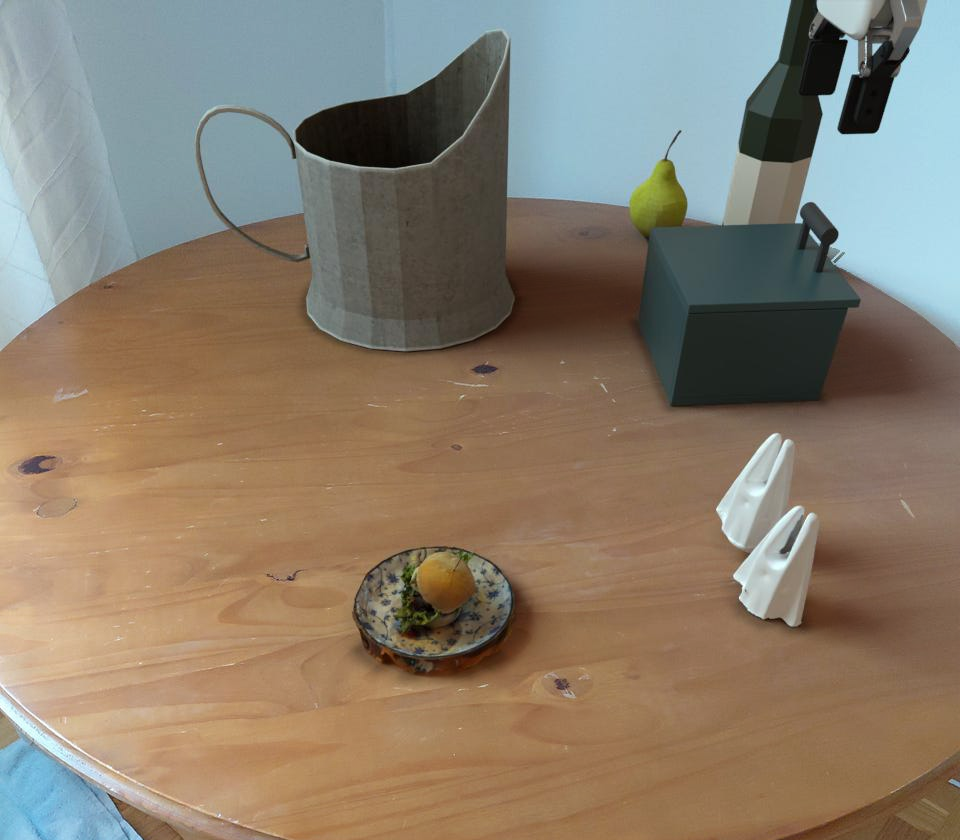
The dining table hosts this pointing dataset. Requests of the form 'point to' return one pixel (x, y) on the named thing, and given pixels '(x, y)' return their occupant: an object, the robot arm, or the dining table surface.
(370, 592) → the burger
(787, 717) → the dining table surface
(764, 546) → the shaker set
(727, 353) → the chest
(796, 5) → the wine bottle
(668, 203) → the fruit
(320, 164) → the pitcher
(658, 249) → the lid
